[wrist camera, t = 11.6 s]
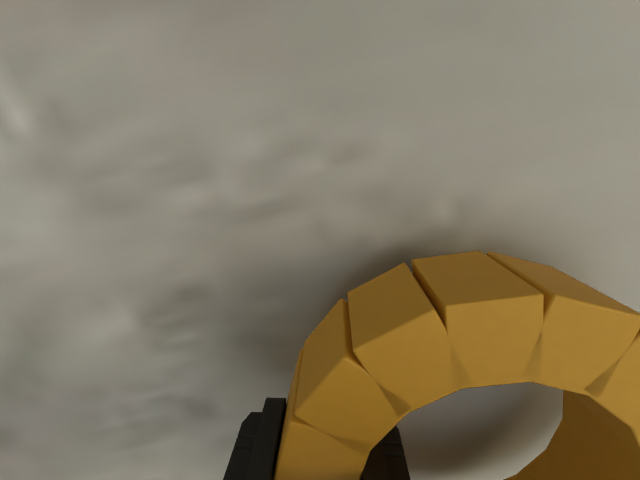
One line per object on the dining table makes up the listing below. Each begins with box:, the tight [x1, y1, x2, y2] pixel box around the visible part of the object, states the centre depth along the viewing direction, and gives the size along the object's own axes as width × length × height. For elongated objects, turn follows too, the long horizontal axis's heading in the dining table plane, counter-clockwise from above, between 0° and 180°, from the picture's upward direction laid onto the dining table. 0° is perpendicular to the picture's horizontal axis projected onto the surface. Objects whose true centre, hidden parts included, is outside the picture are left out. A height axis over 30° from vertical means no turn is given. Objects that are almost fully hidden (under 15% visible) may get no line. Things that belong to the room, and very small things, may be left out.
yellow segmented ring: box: [273, 251, 640, 480], centre depth 11 cm, size 13×13×4 cm
